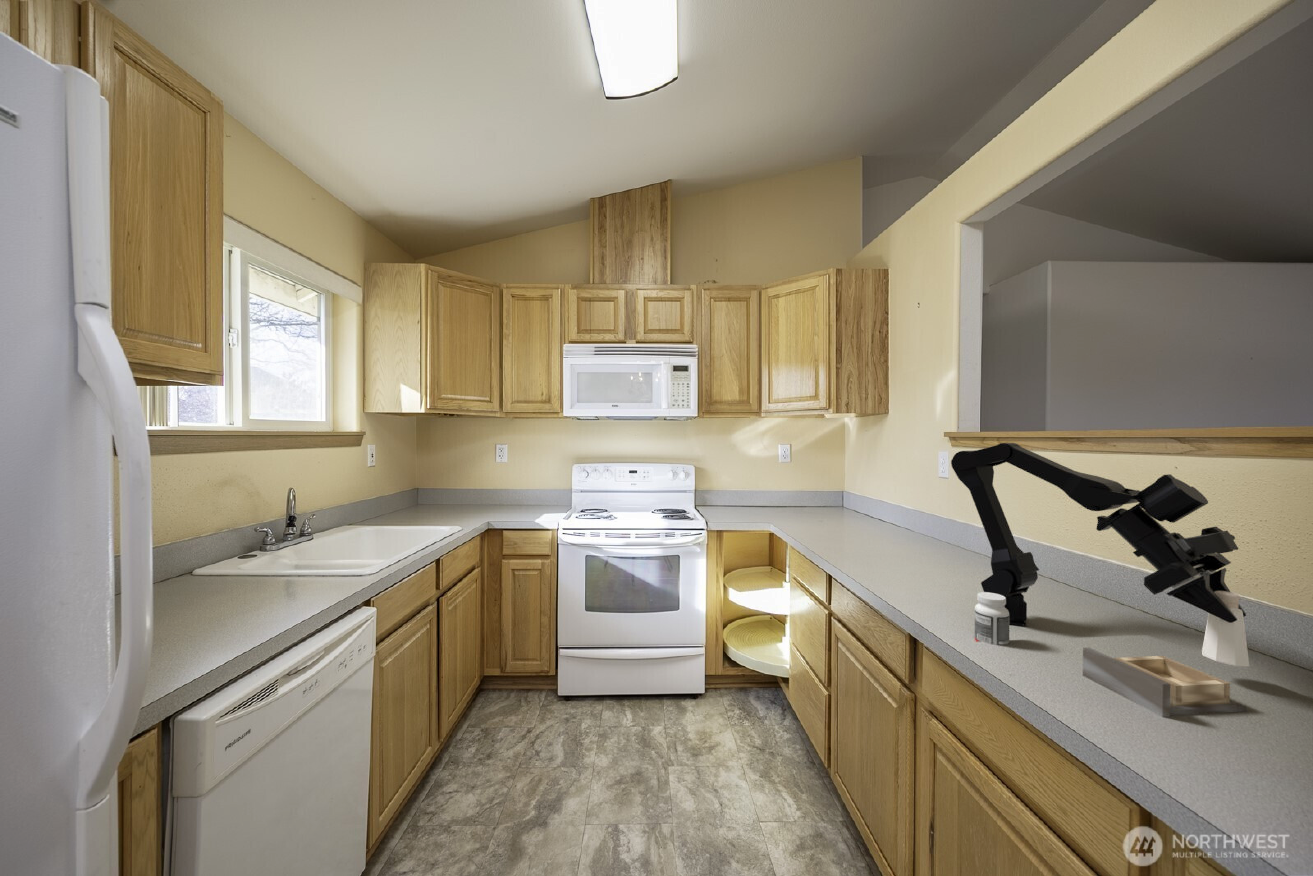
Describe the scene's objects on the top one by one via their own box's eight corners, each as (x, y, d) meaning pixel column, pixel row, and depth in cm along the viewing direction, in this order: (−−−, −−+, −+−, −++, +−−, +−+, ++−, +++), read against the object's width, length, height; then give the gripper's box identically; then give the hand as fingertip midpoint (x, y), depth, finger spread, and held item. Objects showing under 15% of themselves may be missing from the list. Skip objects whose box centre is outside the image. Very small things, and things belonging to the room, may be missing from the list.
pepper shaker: (1237, 655, 82) (1239, 590, 81) (1259, 670, 77) (1261, 600, 77) (1192, 649, 84) (1194, 585, 84) (1212, 662, 79) (1213, 595, 79)
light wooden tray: (1162, 676, 82) (1162, 655, 82) (1229, 706, 73) (1230, 683, 73) (1113, 678, 81) (1113, 657, 81) (1175, 709, 72) (1175, 686, 72)
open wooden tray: (1135, 668, 88) (1136, 634, 88) (1251, 720, 72) (1252, 680, 72) (1053, 671, 86) (1053, 638, 86) (1152, 726, 70) (1153, 685, 70)
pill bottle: (1003, 641, 99) (1004, 592, 98) (1013, 653, 93) (1014, 602, 93) (970, 637, 100) (971, 589, 100) (979, 649, 95) (979, 598, 95)
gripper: (1172, 515, 79) (1277, 605, 70) (1214, 507, 88) (1314, 586, 78) (1108, 552, 86) (1196, 638, 77) (1153, 541, 95) (1238, 618, 85)
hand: (1238, 619), depth 79 cm, fingers closed on pepper shaker, 4 cm apart
